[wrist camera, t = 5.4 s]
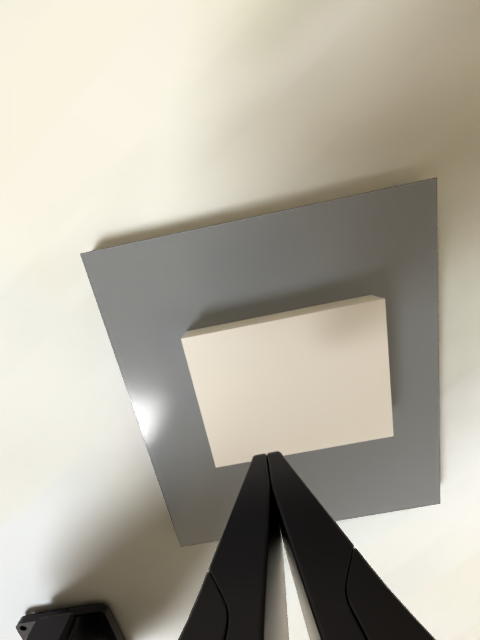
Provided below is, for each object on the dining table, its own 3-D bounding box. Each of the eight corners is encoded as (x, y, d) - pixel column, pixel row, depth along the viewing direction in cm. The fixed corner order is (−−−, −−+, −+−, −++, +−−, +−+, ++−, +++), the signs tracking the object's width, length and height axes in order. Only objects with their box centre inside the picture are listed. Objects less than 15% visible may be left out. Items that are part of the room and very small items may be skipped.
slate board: (430, 491, 16) (440, 503, 15) (183, 533, 16) (180, 546, 16) (423, 182, 12) (436, 177, 11) (90, 254, 12) (80, 253, 11)
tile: (217, 449, 14) (379, 420, 14) (215, 467, 13) (393, 436, 12) (186, 331, 12) (369, 294, 12) (180, 339, 11) (385, 298, 11)
